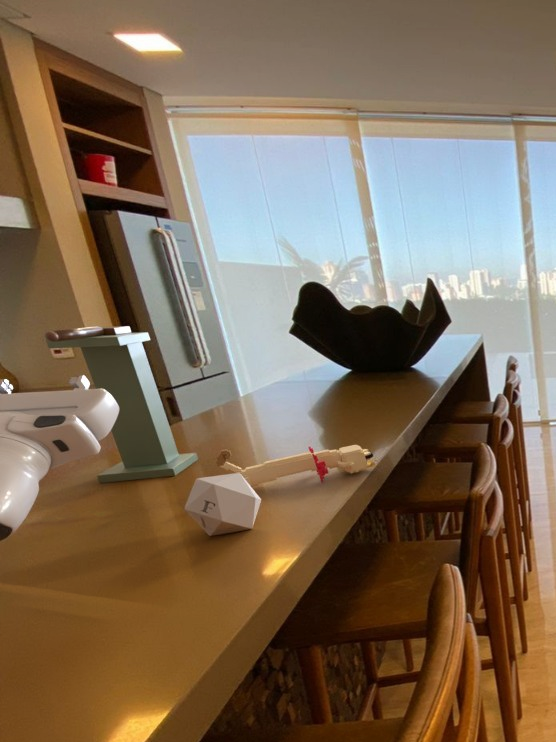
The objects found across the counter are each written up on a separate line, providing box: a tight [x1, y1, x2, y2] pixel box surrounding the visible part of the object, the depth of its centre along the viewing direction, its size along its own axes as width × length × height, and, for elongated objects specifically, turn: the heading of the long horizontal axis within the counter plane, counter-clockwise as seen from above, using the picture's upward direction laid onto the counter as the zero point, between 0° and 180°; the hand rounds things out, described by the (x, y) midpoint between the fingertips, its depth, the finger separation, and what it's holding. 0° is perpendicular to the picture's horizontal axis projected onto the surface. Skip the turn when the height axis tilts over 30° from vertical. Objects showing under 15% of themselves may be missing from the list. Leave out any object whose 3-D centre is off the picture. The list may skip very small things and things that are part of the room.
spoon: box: [44, 325, 132, 342], centre depth 98 cm, size 21×4×2 cm, turn 19°
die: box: [183, 472, 262, 537], centre depth 83 cm, size 8×9×10 cm
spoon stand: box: [45, 331, 199, 484], centre depth 107 cm, size 12×14×26 cm
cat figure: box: [215, 444, 378, 488], centre depth 104 cm, size 10×9×25 cm
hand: (43, 380), depth 86 cm, fingers open, 8 cm apart
